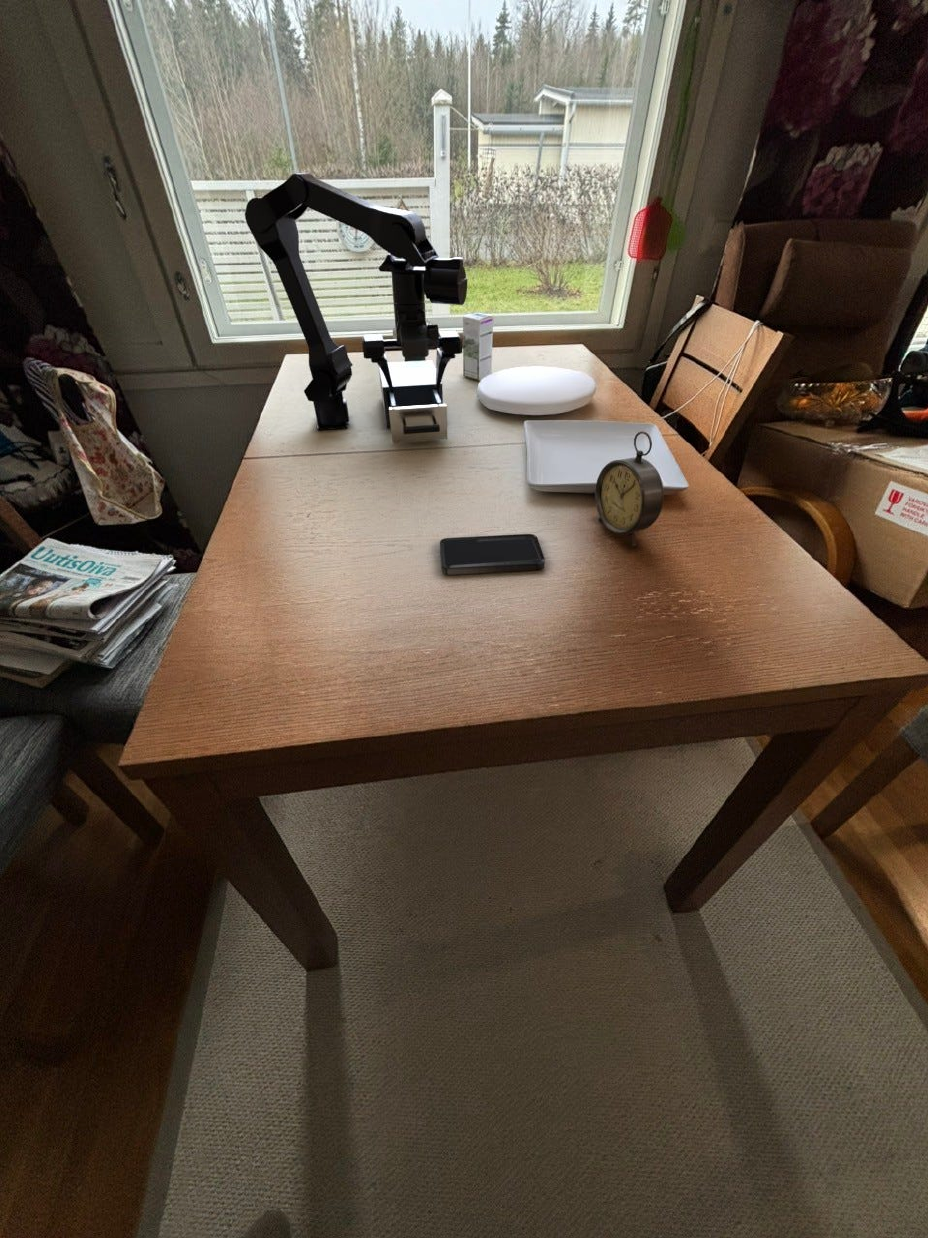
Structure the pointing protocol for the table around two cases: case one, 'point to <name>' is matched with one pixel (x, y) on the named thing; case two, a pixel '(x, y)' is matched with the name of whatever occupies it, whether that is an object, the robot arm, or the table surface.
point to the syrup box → (477, 345)
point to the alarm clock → (629, 494)
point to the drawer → (417, 415)
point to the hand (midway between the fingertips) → (414, 391)
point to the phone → (491, 554)
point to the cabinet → (408, 380)
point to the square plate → (592, 453)
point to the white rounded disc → (536, 390)
